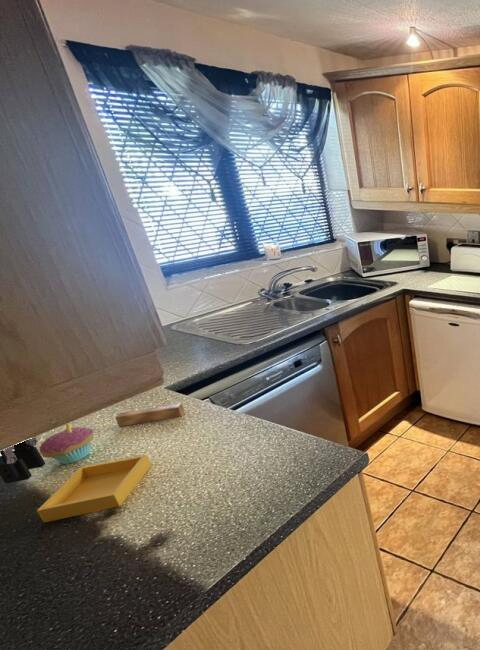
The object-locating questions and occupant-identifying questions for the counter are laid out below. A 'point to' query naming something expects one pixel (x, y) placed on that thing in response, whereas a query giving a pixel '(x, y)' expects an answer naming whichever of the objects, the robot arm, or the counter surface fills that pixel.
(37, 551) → the counter surface
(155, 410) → the rail
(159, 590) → the counter surface
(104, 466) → the tray
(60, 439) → the cupcake
